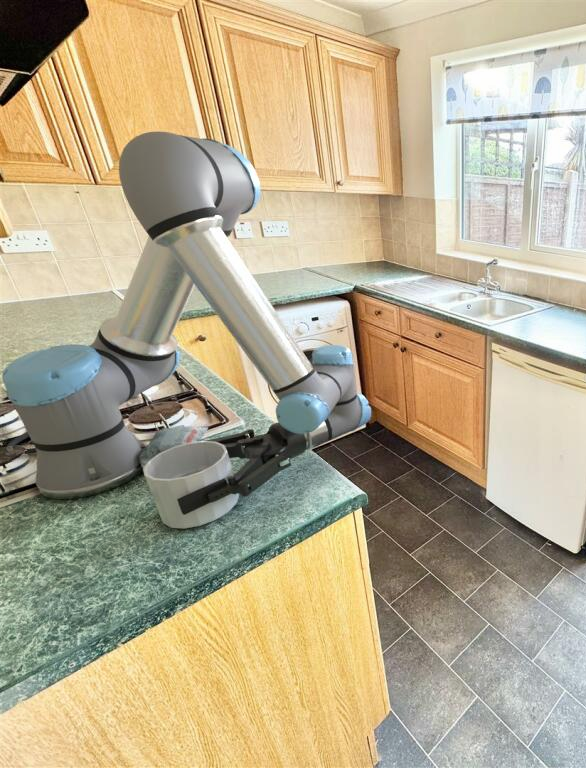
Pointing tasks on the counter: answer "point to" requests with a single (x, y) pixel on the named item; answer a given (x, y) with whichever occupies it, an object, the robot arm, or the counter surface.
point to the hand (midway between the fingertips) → (164, 491)
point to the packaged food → (171, 440)
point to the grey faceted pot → (189, 481)
